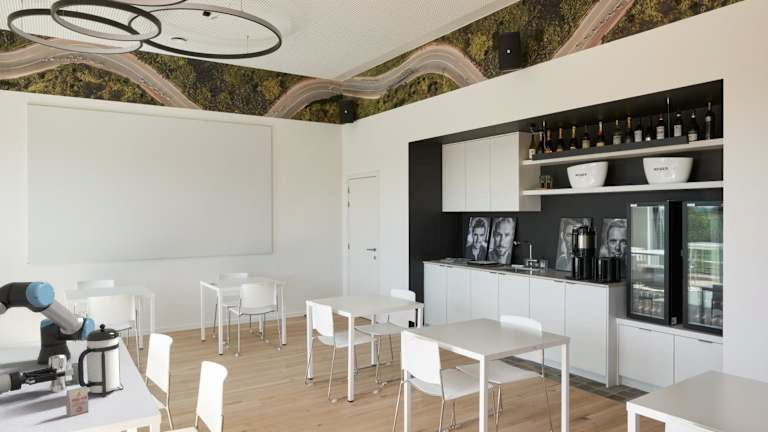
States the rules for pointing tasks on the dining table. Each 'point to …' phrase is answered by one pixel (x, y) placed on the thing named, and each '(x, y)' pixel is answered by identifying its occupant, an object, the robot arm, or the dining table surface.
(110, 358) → the coffee press
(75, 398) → the printed carton
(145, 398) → the dining table surface
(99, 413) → the dining table surface
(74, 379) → the block
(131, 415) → the dining table surface
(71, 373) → the robot arm
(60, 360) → the beer glass
